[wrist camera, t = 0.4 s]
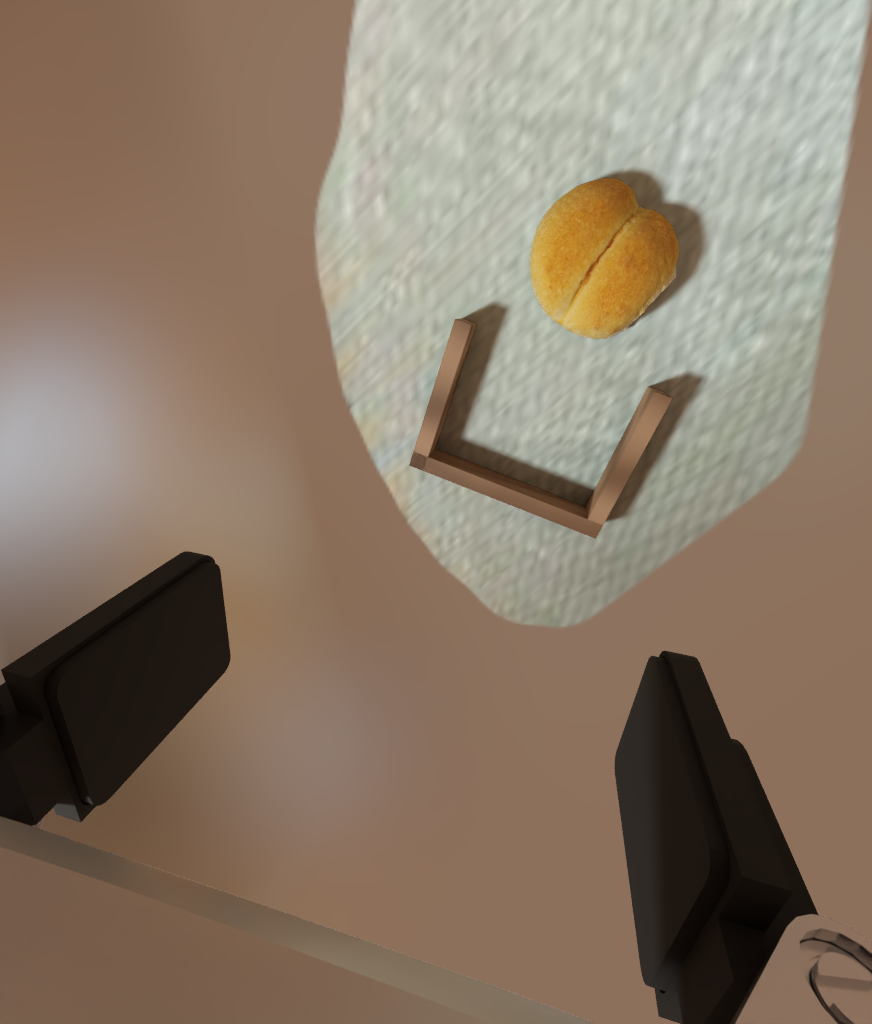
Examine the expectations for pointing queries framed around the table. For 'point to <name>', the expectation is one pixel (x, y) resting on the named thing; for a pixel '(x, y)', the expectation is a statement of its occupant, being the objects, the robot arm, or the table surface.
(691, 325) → the table surface
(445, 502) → the table surface
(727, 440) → the table surface
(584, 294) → the bread roll
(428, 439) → the frame
